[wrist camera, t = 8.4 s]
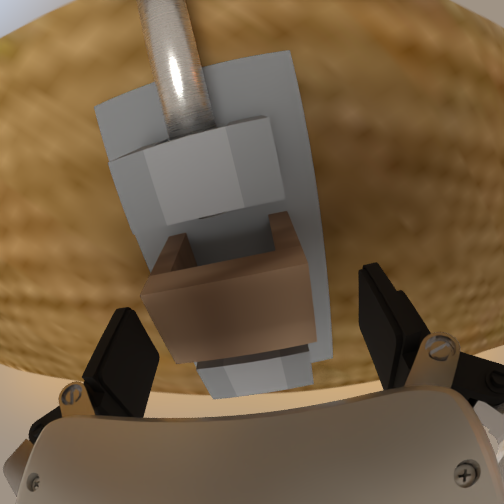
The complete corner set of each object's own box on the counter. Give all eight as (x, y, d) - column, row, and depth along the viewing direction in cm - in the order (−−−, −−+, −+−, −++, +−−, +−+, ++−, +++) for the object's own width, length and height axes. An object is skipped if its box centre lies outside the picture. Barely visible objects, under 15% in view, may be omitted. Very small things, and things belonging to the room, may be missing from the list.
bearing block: (287, 52, 12) (308, 29, 8) (331, 352, 21) (345, 401, 17) (99, 106, 12) (48, 111, 8) (204, 374, 22) (199, 423, 17)
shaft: (191, -70, 7) (183, -96, 5) (256, 190, 14) (259, 209, 11) (117, -45, 7) (96, -65, 5) (177, 209, 14) (164, 232, 12)
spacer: (287, 210, 15) (308, 263, 10) (297, 275, 17) (317, 341, 12) (168, 236, 15) (140, 295, 11) (191, 295, 17) (176, 364, 13)
